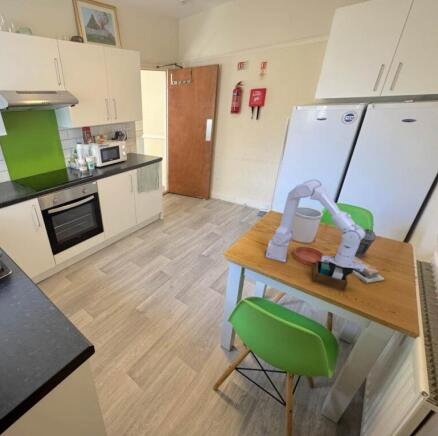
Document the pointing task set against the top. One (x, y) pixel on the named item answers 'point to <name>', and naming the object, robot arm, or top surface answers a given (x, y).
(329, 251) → the top surface
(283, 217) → the robot arm
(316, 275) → the box
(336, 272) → the silver packet
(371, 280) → the packaged product
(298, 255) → the bowl
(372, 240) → the beverage cup
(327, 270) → the teal packet
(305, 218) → the utensil holder
